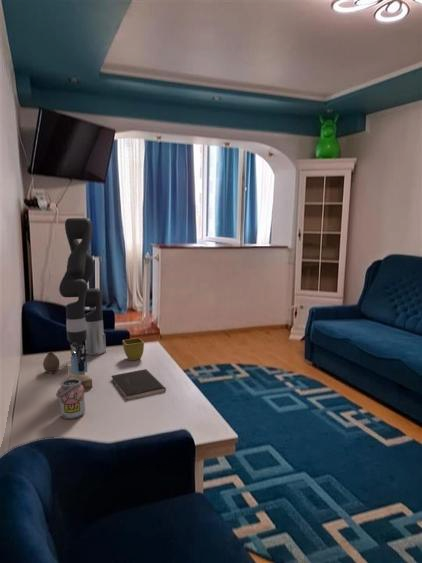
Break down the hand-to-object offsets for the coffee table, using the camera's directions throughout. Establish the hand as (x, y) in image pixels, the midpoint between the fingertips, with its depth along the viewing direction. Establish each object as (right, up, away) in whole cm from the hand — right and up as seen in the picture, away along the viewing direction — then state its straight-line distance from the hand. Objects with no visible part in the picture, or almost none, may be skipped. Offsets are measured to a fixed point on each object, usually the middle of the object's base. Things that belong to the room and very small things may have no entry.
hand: (79, 369), depth 170 cm
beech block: (-5, -6, +12) cm, 15 cm away
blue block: (0, -1, 0) cm, 1 cm away
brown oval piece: (-19, -5, +20) cm, 28 cm away
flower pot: (+16, -2, +35) cm, 38 cm away
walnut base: (0, -8, +1) cm, 8 cm away
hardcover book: (+23, -8, +3) cm, 25 cm away
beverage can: (+4, -12, -22) cm, 25 cm away
